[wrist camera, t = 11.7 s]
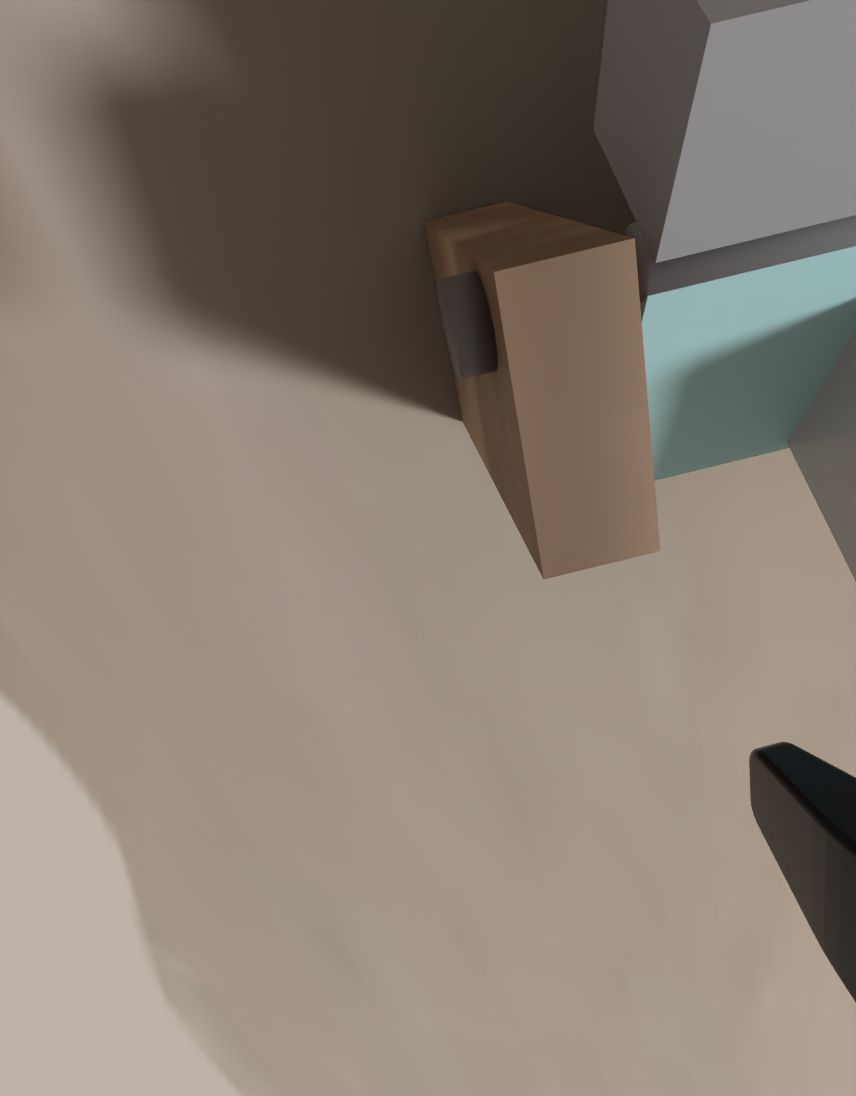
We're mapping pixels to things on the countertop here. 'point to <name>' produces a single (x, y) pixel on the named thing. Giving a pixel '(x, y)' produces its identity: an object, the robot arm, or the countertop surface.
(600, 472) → the trapdoor frame
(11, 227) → the countertop surface
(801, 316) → the trapdoor
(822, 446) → the grey cube
